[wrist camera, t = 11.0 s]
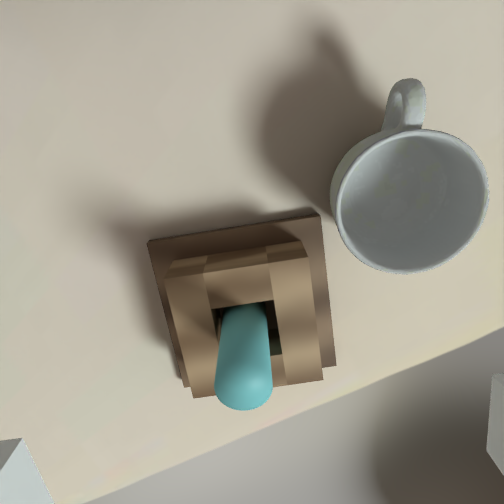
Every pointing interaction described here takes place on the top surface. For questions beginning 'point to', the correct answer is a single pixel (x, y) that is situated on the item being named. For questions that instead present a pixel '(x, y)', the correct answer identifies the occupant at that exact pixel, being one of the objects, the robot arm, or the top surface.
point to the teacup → (408, 190)
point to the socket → (248, 296)
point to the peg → (244, 358)
